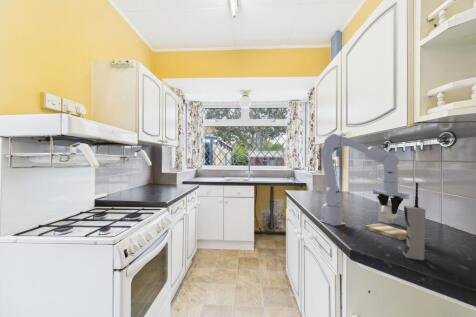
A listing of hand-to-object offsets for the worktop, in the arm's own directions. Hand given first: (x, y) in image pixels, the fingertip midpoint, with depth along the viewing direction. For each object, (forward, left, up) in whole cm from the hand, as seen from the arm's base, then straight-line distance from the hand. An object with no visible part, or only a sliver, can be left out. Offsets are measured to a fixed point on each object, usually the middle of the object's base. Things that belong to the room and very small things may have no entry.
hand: (389, 212), depth 104 cm
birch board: (0, 0, -9) cm, 9 cm away
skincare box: (-12, +16, -9) cm, 22 cm away
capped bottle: (0, 0, -2) cm, 2 cm away
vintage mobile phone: (+20, -18, -9) cm, 28 cm away
